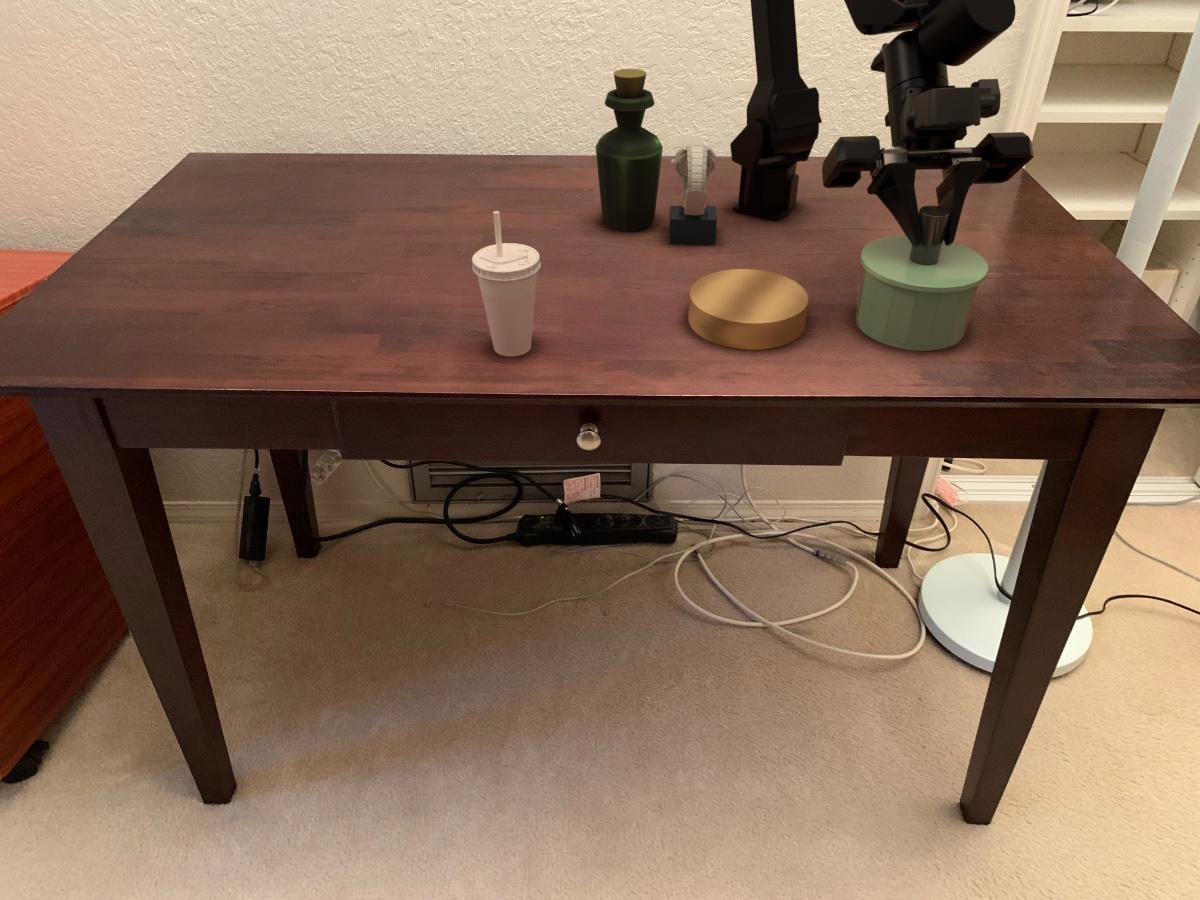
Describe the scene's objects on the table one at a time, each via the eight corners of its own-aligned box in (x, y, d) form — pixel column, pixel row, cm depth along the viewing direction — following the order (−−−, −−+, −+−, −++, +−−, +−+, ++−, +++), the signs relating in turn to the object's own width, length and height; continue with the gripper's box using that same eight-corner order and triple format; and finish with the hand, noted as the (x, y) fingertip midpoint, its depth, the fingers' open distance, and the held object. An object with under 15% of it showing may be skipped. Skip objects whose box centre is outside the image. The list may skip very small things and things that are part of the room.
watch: (712, 224, 114) (719, 136, 108) (716, 250, 108) (722, 159, 101) (668, 223, 115) (671, 135, 108) (668, 250, 108) (672, 158, 102)
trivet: (667, 330, 93) (668, 304, 91) (718, 284, 101) (720, 259, 99) (777, 361, 88) (780, 334, 86) (821, 311, 96) (826, 285, 94)
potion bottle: (583, 220, 116) (580, 72, 105) (630, 204, 120) (632, 60, 109) (626, 240, 111) (627, 86, 100) (673, 222, 115) (680, 73, 104)
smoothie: (480, 332, 93) (468, 200, 84) (543, 329, 93) (537, 197, 85) (479, 365, 87) (465, 227, 79) (546, 362, 88) (539, 224, 80)
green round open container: (840, 333, 92) (850, 273, 88) (874, 291, 99) (885, 234, 95) (948, 361, 87) (964, 300, 83) (976, 315, 95) (991, 257, 91)
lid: (841, 280, 88) (851, 219, 85) (880, 236, 96) (891, 179, 93) (968, 310, 83) (984, 246, 79) (997, 261, 91) (1014, 202, 88)
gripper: (848, 46, 81) (864, 213, 78) (1054, 41, 81) (1075, 207, 79) (815, 110, 92) (827, 259, 89) (996, 106, 92) (1013, 253, 90)
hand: (933, 244), depth 87 cm, fingers closed on lid, 3 cm apart
